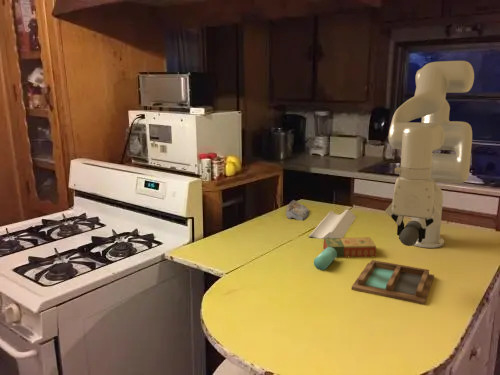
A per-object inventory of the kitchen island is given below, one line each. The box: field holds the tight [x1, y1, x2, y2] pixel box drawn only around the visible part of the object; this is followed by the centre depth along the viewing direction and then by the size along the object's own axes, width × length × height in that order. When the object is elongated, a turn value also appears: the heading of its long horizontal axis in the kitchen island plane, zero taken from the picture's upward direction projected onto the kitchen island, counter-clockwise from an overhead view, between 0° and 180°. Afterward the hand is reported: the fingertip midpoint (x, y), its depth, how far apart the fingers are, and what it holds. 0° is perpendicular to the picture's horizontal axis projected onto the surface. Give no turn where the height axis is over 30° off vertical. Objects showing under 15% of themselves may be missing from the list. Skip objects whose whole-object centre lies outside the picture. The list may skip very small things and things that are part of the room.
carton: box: [322, 236, 377, 258], centre depth 146 cm, size 8×16×4 cm, turn 88°
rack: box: [351, 259, 435, 306], centre depth 123 cm, size 18×19×2 cm
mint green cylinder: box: [313, 247, 338, 271], centre depth 136 cm, size 9×4×4 cm, turn 151°
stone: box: [285, 199, 310, 221], centre depth 189 cm, size 17×5×10 cm
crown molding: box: [308, 209, 357, 240], centre depth 172 cm, size 31×12×4 cm, turn 156°
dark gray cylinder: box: [398, 220, 421, 247], centre depth 117 cm, size 9×4×4 cm, turn 151°
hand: (410, 238), depth 118 cm, fingers closed on dark gray cylinder, 4 cm apart
